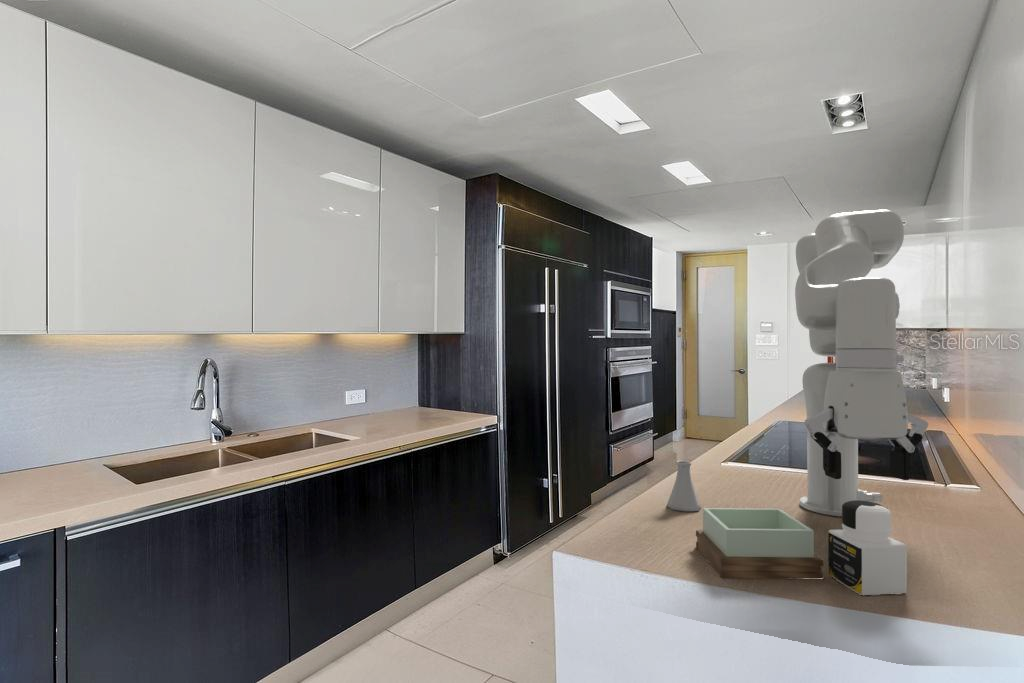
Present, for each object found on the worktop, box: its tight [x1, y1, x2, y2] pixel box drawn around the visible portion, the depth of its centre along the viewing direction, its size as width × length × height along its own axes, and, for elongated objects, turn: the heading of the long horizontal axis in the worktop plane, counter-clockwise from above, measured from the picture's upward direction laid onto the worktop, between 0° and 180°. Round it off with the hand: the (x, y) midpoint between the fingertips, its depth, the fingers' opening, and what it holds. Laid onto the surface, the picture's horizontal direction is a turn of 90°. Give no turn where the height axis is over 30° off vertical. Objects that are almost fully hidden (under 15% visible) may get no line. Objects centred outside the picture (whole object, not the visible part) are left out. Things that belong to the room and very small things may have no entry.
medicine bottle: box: [827, 500, 908, 597], centre depth 81 cm, size 7×7×12 cm
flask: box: [666, 460, 702, 512], centre depth 119 cm, size 7×7×10 cm
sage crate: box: [702, 507, 815, 558], centre depth 89 cm, size 13×11×4 cm
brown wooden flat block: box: [695, 529, 824, 580], centre depth 89 cm, size 15×13×3 cm
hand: (866, 477), depth 80 cm, fingers open, 9 cm apart
